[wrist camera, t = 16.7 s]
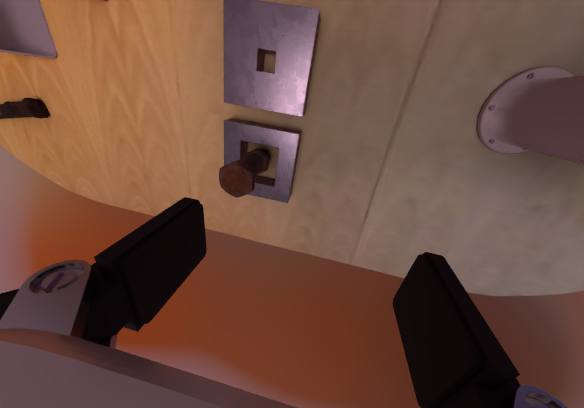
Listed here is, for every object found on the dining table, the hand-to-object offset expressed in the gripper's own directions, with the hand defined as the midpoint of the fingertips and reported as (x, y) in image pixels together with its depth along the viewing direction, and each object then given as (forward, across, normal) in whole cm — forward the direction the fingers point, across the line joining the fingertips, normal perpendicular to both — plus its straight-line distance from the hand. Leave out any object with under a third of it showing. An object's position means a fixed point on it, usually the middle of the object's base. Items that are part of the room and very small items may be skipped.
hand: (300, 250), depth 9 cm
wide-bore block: (+35, +12, +8) cm, 38 cm away
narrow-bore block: (+35, +12, -9) cm, 38 cm away
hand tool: (+33, +72, +8) cm, 80 cm away
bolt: (+35, +13, +7) cm, 38 cm away
